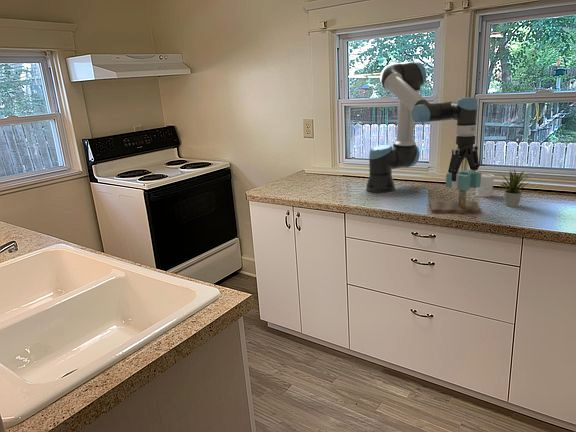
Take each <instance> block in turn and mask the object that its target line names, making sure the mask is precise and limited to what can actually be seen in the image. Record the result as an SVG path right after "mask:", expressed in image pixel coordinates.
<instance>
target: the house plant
mask: <svg viewBox="0 0 576 432" xmlns="http://www.w3.org/2000/svg"><path fill="white" fill-rule="evenodd" d="M524 172H525V171H521V172H520V174H517V172H516V170H515V169H513V170H512V171H511V170H509V180H508V178H507V177H506V176H504V175H503V174H502V173H499V172H498V174H500V175H501V176H502V177H503V178H504V180H505V181H506V182H505V181H503V180H501V182H502V183H503V184H499V185H500V186H501V187H503V188H505V189H506V190H504V192H503V193H504V203H505V206H506V207H511V208H515V207H517V208H518V207H519V205H520V201H521V197H522V194H523V191H521V190H522V189H523V188H525V186H528V184H530V182H527V183H524V182H525V180H527V179H529V178H530V176H529V175H531V174H534V172H533V173H532V172H529V173H526V174H525V175H524ZM523 175H524V176H523ZM525 177H526V178H525Z"/></svg>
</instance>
